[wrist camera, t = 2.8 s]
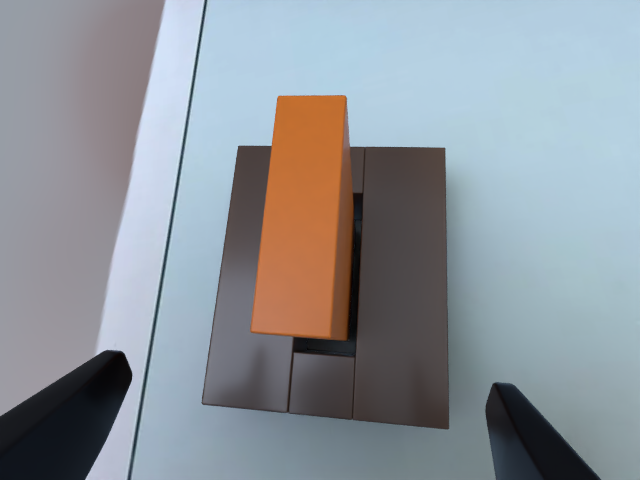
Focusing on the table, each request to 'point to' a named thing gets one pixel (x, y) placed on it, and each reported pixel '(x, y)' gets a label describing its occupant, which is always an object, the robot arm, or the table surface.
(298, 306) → the block
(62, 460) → the robot arm
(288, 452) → the table surface
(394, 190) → the holder
